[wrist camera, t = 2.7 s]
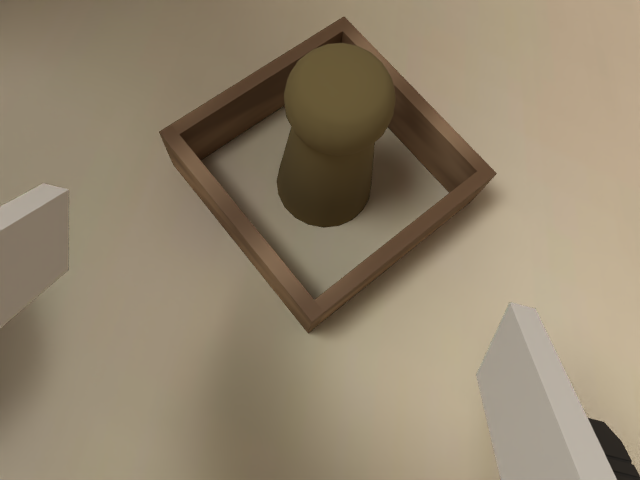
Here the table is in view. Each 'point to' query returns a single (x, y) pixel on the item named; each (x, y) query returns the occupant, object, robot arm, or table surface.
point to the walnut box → (268, 96)
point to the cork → (333, 132)
